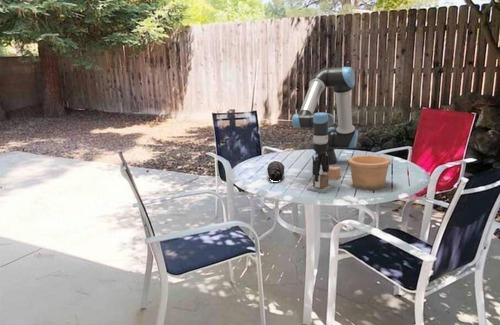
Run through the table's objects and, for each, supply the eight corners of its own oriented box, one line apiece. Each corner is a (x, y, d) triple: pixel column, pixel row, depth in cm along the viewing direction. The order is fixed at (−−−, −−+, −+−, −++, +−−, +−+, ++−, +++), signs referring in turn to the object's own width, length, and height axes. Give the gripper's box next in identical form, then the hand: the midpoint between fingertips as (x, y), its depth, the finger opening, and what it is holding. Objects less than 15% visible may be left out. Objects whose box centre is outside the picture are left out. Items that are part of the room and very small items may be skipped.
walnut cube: (313, 187, 217) (312, 176, 216) (318, 184, 221) (318, 174, 220) (323, 189, 213) (323, 178, 212) (328, 186, 218) (328, 175, 216)
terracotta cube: (326, 178, 236) (326, 168, 235) (331, 176, 241) (331, 166, 239) (335, 180, 233) (335, 169, 231) (340, 177, 237) (340, 167, 236)
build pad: (306, 189, 217) (306, 187, 217) (316, 184, 225) (316, 182, 225) (325, 193, 210) (325, 191, 210) (335, 187, 218) (335, 185, 218)
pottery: (365, 194, 206) (366, 166, 203) (339, 183, 226) (339, 158, 222) (398, 187, 214) (400, 160, 211) (371, 177, 234) (371, 153, 230)
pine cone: (269, 183, 231) (268, 166, 229) (266, 175, 248) (266, 159, 246) (287, 183, 231) (287, 165, 229) (283, 174, 248) (283, 158, 246)
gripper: (317, 146, 202) (318, 191, 208) (335, 140, 217) (335, 182, 222) (304, 145, 207) (305, 189, 212) (323, 139, 221) (323, 180, 227)
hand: (320, 185), depth 217 cm, fingers open, 6 cm apart
